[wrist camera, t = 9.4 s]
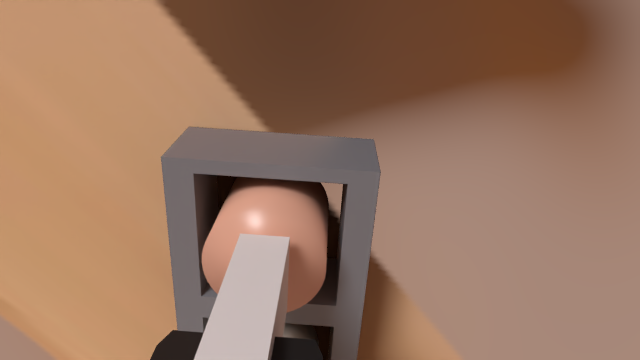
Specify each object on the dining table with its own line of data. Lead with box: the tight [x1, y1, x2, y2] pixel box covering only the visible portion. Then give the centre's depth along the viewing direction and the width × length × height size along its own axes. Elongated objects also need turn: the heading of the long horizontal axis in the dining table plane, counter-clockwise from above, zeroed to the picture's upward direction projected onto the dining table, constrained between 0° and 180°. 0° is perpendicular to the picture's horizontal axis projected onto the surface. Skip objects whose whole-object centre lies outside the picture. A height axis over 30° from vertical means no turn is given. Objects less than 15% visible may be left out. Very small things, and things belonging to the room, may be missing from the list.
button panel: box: [161, 127, 381, 360], centre depth 20 cm, size 18×7×3 cm, turn 176°
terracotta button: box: [202, 177, 329, 312], centre depth 16 cm, size 4×4×4 cm
